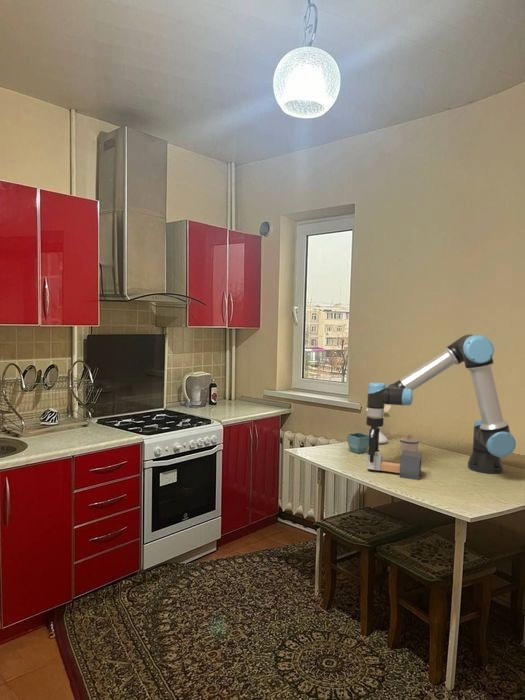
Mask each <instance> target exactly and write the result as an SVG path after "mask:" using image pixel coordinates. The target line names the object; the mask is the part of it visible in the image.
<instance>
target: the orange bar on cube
mask: <svg viewBox="0 0 525 700" xmlns="http://www.w3.org/2000/svg"><path fill="white" fill-rule="evenodd" d="M368 466H369V455H367V456H366V469H368ZM368 470H369V469H368ZM374 471H382V472H389V473H390V472H391V473H397V474H400V463H395V462H388V461H383V454H380V453H378V454H375V470H374Z"/></svg>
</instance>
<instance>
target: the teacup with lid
mask: <svg viewBox="0 0 525 700" xmlns="http://www.w3.org/2000/svg"><path fill="white" fill-rule="evenodd" d="M399 441H400V443H399V457H400V456H401V453H402V451H403V450H408V451H416V452H419V442H420V440H419V439H417V438H415V437H414V436H412V434H410V433H409V434H407V435H406V436H403V437H400V439H399Z"/></svg>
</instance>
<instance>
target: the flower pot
mask: <svg viewBox="0 0 525 700" xmlns="http://www.w3.org/2000/svg"><path fill="white" fill-rule="evenodd" d="M346 435H347V438H346V439H347V445H348V448H349V450H350V451H351V452H352V451H353V452H352V453H355V454H357V453H359V454H364V453H366V451H367V450H369V434H364V433H360V432H354V433H348V434H346ZM363 452H364V453H363Z"/></svg>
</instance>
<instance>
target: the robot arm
mask: <svg viewBox="0 0 525 700" xmlns="http://www.w3.org/2000/svg"><path fill="white" fill-rule="evenodd" d="M494 351H495V349H494V345H493V343H492V341H491V340H490V339H489V338H488V337H485V336H483V335H479V334H465V335H463V336H461V337H459V338H458V339H456V340H455V341H454V342H452V343H451V344H449V345H447V346H445V349H444V351H442V352H441V353H439V354H438V355H436V356H434V357H433V358H431V359H430V360H428V361H427V362H425V363H424V364H421V366H419V367H417V368H416V369H414V370H412V371H411V372H410V373H408V374H406V375H405V376H404V377H401V378H400V379H399V380H396V381H395V382H393V383H390V384H387V386H386V383H383V382H377V381H376V382H370V383H368V389H367V400H366V401H367V402H366V403H367V405H366V409H365V411H367V412H366V415H367V416H366V422H365V423H366V426H368V427H370V429H369V431H368V436H369V447H368V449H367V450H368V452H366V454H367V455H369V466H368V470H372V471H376V470H375V454H379V452H380V449H379V448H380V447H379V445H380V443H379V432H380V431H381V427H383V426H384V418H385V417H384V404H387V405H388V404H390V405H391V406H392V405H393V406H411V405H412V403H413V398H414V397H413V396H414V394H413V391H414V390H415V389H418V388H419V387H420V386H423V384H426V383H428V381H431V380H432V379H434V378H435V377H437V376H438V375H439V374H441V373H443V372H444V371H446V370H447V369H449V368H451V367H453V366H454V365H458V366H459V364H462V363H463V362H464V366H465V369H466V370H468V371H470V373H469V374H470V376H471V380H472V385H473V389H474V393H475V396H476V403H477V404H478V405H477V406H478V410H479V414H480V418H481V419H478V420H475V421H474V422H473V424H474V425H473V438H472V440H473V442H472V451H471V454H470V456H469V459H468V460H467V461H468V462H467V468H468V469H469V470H472V471H475V472H479V473H482V474H483V473H484V474H494V475H495V474H501V473H503V469H504V466H503V463H502V458H506V457H508V456H510V455H512V454H513V452H514V451H515V449H516V445H517V442H516V438H515V437H514V435H513V434H512V433H511V431H510V426H509V422H508V421H506V420H504V417H503V413H502V409H501V404H500V400H499V396H498V392H497V388H496V383H495V380H494V379H495V378H494V374H493V371H492V366H493V365H494V364H495V363H494V358H493V355H494ZM378 427H380V428H378Z"/></svg>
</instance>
